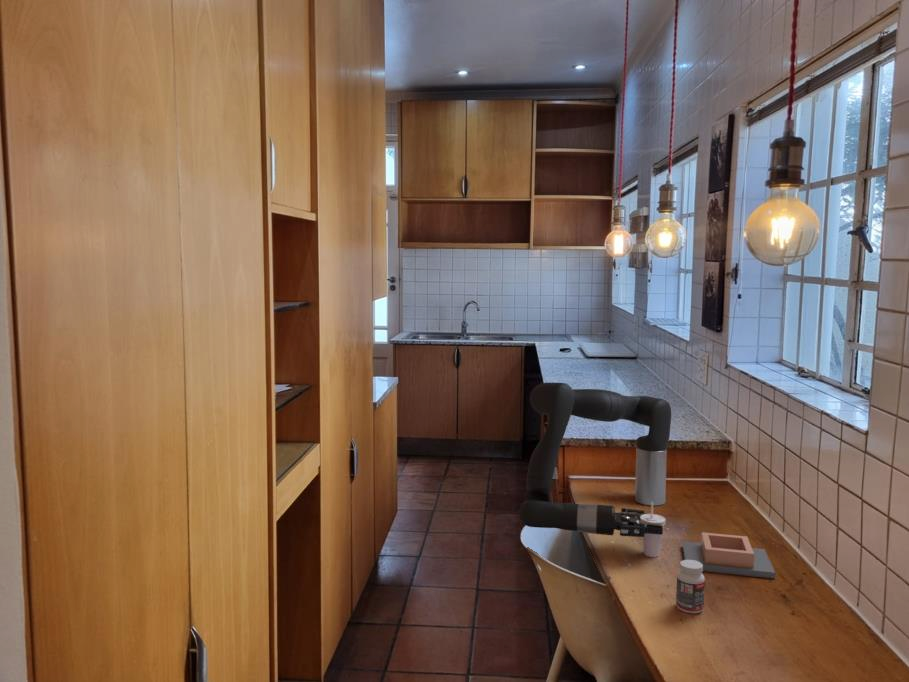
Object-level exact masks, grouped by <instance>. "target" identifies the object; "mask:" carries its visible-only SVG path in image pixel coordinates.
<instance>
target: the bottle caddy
mask: <svg viewBox="0 0 909 682" xmlns="http://www.w3.org/2000/svg"><path fill="white" fill-rule="evenodd" d="M683 552H684V553H683ZM682 553H683V558H684V559H683V560H695V561H698V562H700V563H702V565H703V572H708V573H717V574H727V575H736V576H737V575H738V576H745V577H755V578H756V577H757V578H765V579H772V580H773V579H776V571H775V569H774V567H773V564H772V562H771V560H770V558H769V556H768V554H767V552H766V550H765V548H756V547H752V545H751V543H750V540H749V537H748V536H746V535H744V536H743V535H733V534H723V533H714V532H713V533H711V532H701V542H694V541H693V542H692V541H686V540H685V541H682Z"/></svg>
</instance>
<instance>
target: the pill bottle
mask: <svg viewBox="0 0 909 682" xmlns="http://www.w3.org/2000/svg"><path fill="white" fill-rule="evenodd" d="M679 569H680V570H678V572H677V574H676V595H675V596H676V597H675V598H676V599H675V605H676V607H677V609H679V610H680V611H682V612H683V613H688V614H700V613H701V612H703V610H704V609H705V587H706V586H705V585H706V584H705V581H706V578H705V575H704V574H703V572H704V571H703V565H702V563H700V562H698V561H695V560H685V559H683V560H681V561H679Z"/></svg>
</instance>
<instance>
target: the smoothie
mask: <svg viewBox="0 0 909 682" xmlns="http://www.w3.org/2000/svg"><path fill="white" fill-rule="evenodd" d="M640 522H641V523H645V524H647V525H648V524H653V525H662V526H663V530H664V527H665V525H666V522H667V521H666V518H665V517H664V516H662V515H661V514H660V515H659V514H654V505H653V502H651V505H650V513H646V514H644V515H641V516H640ZM663 536H664V535H663V534H662V535H659V534H648V533H647V534H646V535H644V537H642V545H643V554H644V555H645V556H646V555H647V556H646V557H648V556H649V557H650V558H658V557H659V556H660V552H661V547H662V546H661V545H662V540H663V539H662V538H663ZM657 556H658V557H657ZM649 557H648V558H649Z"/></svg>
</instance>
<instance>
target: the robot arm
mask: <svg viewBox="0 0 909 682" xmlns="http://www.w3.org/2000/svg"><path fill="white" fill-rule="evenodd" d="M529 402H530V404H531V407H532V408H533V410H534V411H535V412H536V413H538V414H540V415H543V416H548V422H547V426H546V429H545V431H544V433H543V435H542V437H540V438H541V439H540V441H538V443H537V445H536V447H535V448H534V449H533V451H532V454H531V456H530V459H529V462H528V467H527V468H528V469H527V472H526V473H527V474H526V479H525V486H526V490H525V491H526V492H525V495H524V496H525V498H524V502H523V503H522V504H521V505H520V507H519V509H518V518H519V520H520V521H521V523H522V524H523V525H525V526H526V527H530V528H544V529H545V528H546V529H559V530H563V531H573V532H581V533H585V534H591V535H592V534H594V535H602V536H603V535H604V536H605V535H606V536H614V534H615V530H616V531H618V532H619V535H620V536H621V537H633V538H637V537H638V538H643V537H644V535H646V534H647V533H648V534H659V535H662V534H663V533H664V529H663V526H662V525H653V524H648V525H647V524H645V523H641V522H640V516H641V515H644V514H647V513H646V512H645V510H641V509H635V508H626V507H622V508H621V510H620V511H619V512H615V511H616V510H615V506H614V505H609V504H608V505H607V504H595V503H594V504H593V503H574V502H552V501H551V502H550V500H551V499H550V497H551V489H552V485H553V479H554V474H555V469H556V463H557V459H558V454H559V451H560V447H561V445H562V441H563V439H564V436H565V435H566V434H565V433H566V430H567V427H568V424H569V422H570V418H571V416H573V417H577V418H582V419H586V420H591V421H596V422H598V421H599V422H607V423H608V422H611V423H612V422H616V421H619V420H625V421H628V422H629V421H630V422H633V423H636V424H639V425H642V426H646V427H649V428H648V433H647V434H646V435H642V436H639V437H638V438H637V439H636V442H635V443H636V447H635V448H636V450H635V451H636V452H635V453H636V454H635V487H634V489H635V490H634V493H635V494H634V501H635V502H637V503H639V504H641V505H645V506H651V502H653V507H654V506H655V507H656V506H662V505H664V504H666V493H667V492H666V491H667V489H666V488H667V487H666V486H667V457H668V456H667V455H668V444H669V440H670V437H671V436H670V433H671V424H672V423H671V422H672V407H671V405H670V402H669V401H668V400H666V399H664V398H660V397H655V396H654V397H653V396H650V395H636V396H635V395H630V396H629V395H624V394H621V393H619V392H616V391H612V390H606V389H598V388H577V389H573V388H572V387H571V386H570V385H569V384H568V383H566V382H542V383H540V384H537V385H536V386H535V387H534V388H532V390H531V392H530V395H529ZM662 536H663V535H662Z"/></svg>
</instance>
